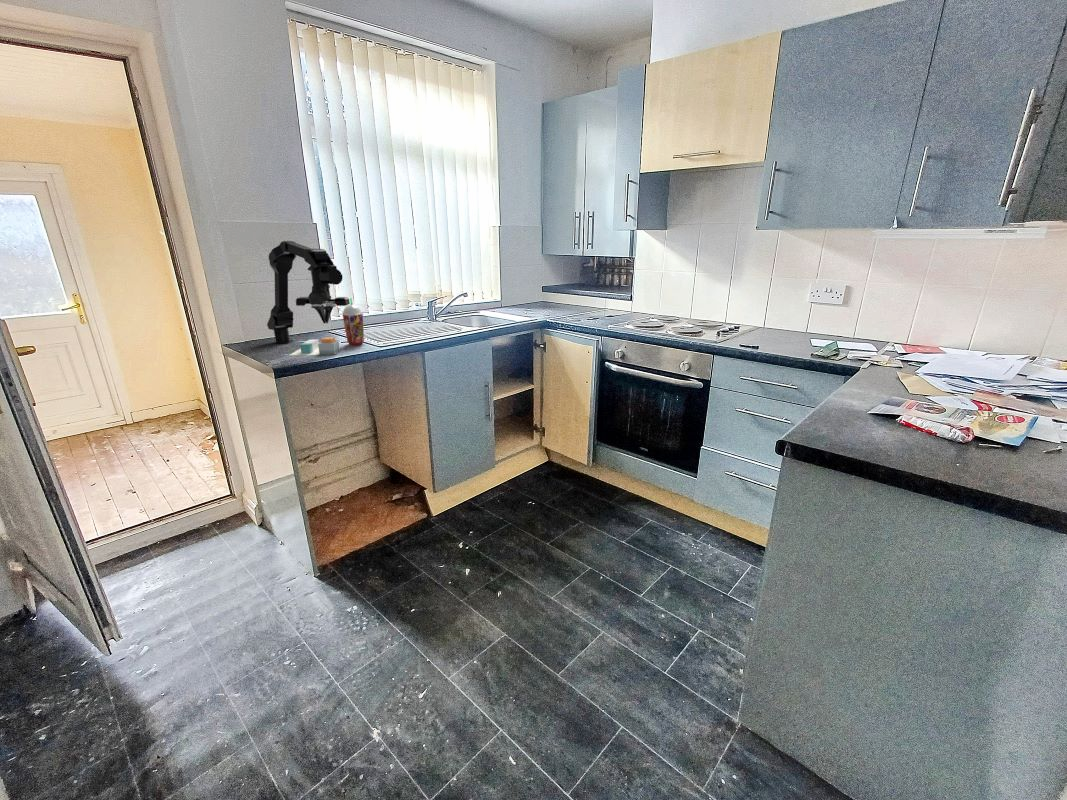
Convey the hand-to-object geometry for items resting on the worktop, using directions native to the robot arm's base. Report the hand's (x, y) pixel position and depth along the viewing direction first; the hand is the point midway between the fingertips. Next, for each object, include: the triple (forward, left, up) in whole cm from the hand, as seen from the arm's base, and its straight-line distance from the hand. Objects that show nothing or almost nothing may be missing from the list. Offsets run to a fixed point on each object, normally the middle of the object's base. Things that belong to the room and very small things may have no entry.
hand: (325, 323), depth 184 cm
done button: (0, 0, -9) cm, 9 cm away
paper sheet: (-4, -9, -12) cm, 16 cm away
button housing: (0, 0, -12) cm, 12 cm away
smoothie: (-16, +6, -12) cm, 21 cm away
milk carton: (-4, -9, -12) cm, 15 cm away
